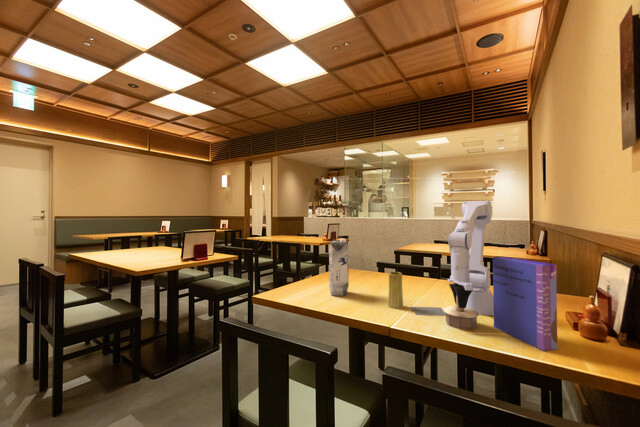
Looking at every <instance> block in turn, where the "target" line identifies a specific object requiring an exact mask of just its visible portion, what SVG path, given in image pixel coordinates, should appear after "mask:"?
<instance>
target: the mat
mask: <svg viewBox="0 0 640 427" xmlns="http://www.w3.org/2000/svg"><path fill="white" fill-rule="evenodd" d="M410 308H411V310H412V312H413V313H414V314H415V315H416V316H440V317H442V316H445V317H446V313H445V312H443V307H439V306H437V307H436V306H433V307H432V306H410Z"/></svg>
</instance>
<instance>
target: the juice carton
mask: <svg viewBox="0 0 640 427" xmlns="http://www.w3.org/2000/svg"><path fill="white" fill-rule="evenodd" d="M328 252H329V257H328V258H329V259H328V262H329V264H328V266H329V267H328V269H329V270H328V272H329V275H328V276H329V277H328V279H329V292H330V295H331V296H335V297H337V296H340V297H346V296H347V293H348V289H349V286H350V285H349V283H350V282H349V277H350V276H349V274H350V273H349V271H350V270H349V268H350V267H349V266H350V265H349V244H348V240H347V239H345V238H340V239H339V240H332V241H331V242H329V251H328Z"/></svg>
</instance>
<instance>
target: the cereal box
mask: <svg viewBox="0 0 640 427" xmlns="http://www.w3.org/2000/svg"><path fill="white" fill-rule="evenodd" d="M492 281H493V282H492V284H493V285H492V287H493V288H492V290H493V292H492V294H493V304H494V316H493V327H494V328H495V329H497V330H499V331H501V332H503V333H504V334H505V335H508V336H510V338H511V337H512V338H514V339H516V340H517V341H520V342H522V343H525V344H527V345H529V346H531V347H534V348H535V349H537V350H539V351H542V352H550V351H551V352H552V351H558V350H559V348H558V304H557V302H558V298H557V294H558V293H557V264H554V263H546V262H542V261H541V262H540V261H532V260H528V259H521V258H516V257H509V256H492Z"/></svg>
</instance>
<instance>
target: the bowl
mask: <svg viewBox="0 0 640 427" xmlns="http://www.w3.org/2000/svg"><path fill="white" fill-rule="evenodd" d="M477 318H478V316H477V317H474V318H462V317H456V316H452V315H449V314H446V316H445V321H446V324H447V326H449V327H451V328H454V329H458V330H465V331H470V330H475V329H476V327H477V326H478V320H477Z"/></svg>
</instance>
